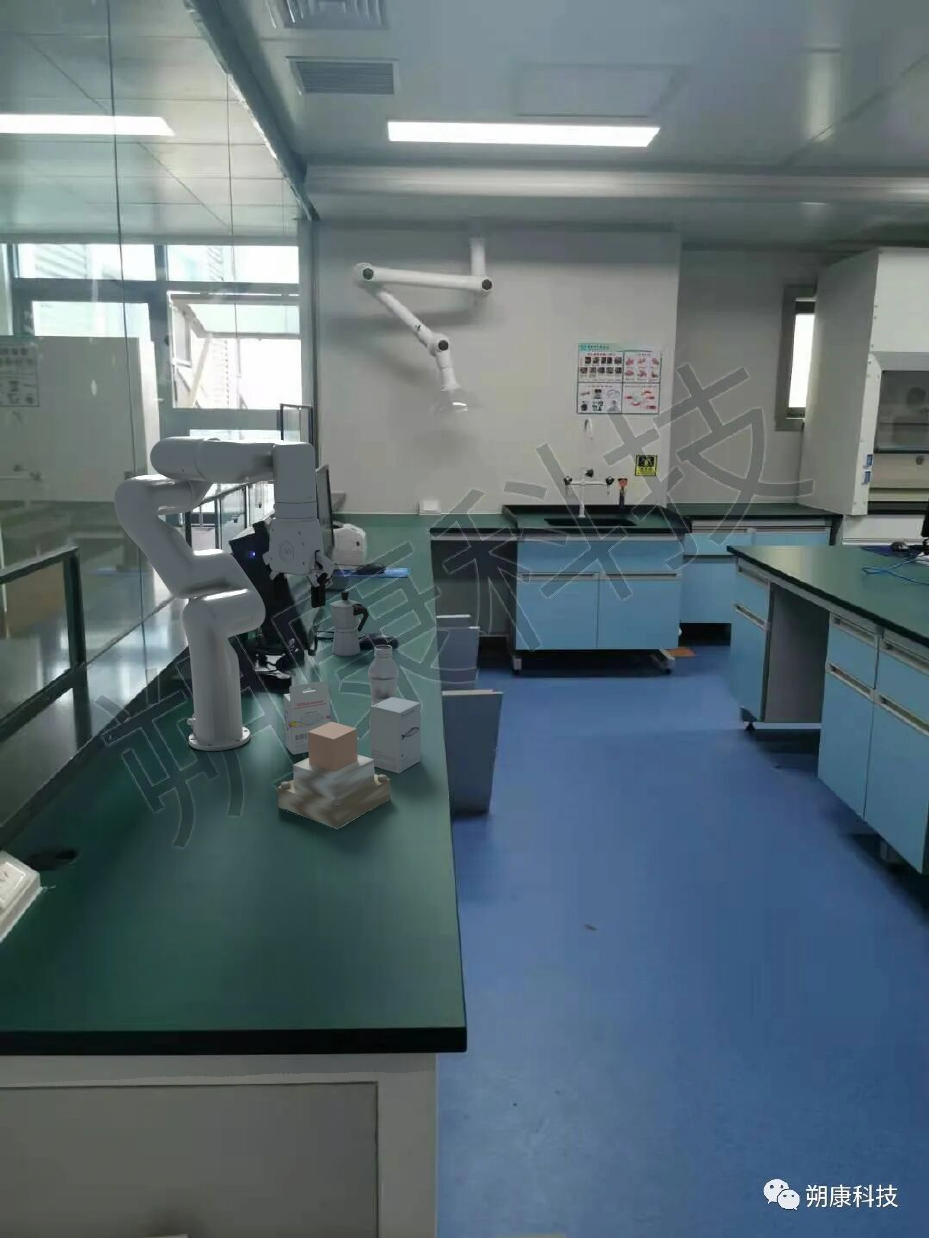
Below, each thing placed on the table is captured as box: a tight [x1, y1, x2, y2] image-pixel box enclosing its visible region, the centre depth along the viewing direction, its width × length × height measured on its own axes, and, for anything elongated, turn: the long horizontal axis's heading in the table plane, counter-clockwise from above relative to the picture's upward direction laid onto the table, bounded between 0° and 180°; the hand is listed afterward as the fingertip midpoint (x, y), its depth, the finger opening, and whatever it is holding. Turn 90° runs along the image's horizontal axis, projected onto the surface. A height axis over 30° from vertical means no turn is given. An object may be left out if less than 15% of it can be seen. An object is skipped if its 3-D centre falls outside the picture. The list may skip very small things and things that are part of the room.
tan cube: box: [308, 721, 358, 772], centre depth 147 cm, size 6×6×6 cm
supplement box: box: [369, 697, 421, 774], centre depth 165 cm, size 7×7×13 cm
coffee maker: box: [328, 590, 370, 657], centre depth 240 cm, size 15×9×18 cm, turn 55°
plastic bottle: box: [367, 644, 400, 729], centre depth 178 cm, size 6×7×20 cm
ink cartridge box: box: [283, 680, 332, 756], centre depth 172 cm, size 9×5×15 cm, turn 117°
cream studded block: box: [277, 753, 391, 828], centre depth 149 cm, size 14×14×8 cm
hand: (299, 603), depth 156 cm, fingers open, 9 cm apart
